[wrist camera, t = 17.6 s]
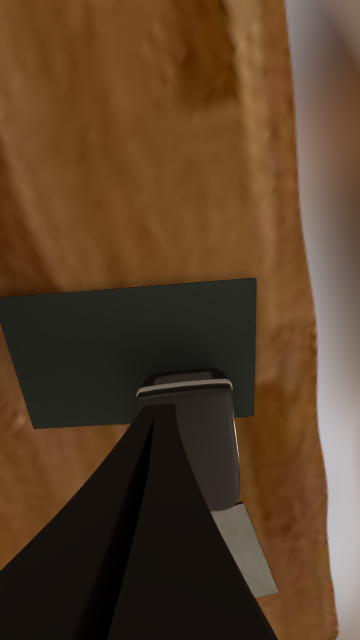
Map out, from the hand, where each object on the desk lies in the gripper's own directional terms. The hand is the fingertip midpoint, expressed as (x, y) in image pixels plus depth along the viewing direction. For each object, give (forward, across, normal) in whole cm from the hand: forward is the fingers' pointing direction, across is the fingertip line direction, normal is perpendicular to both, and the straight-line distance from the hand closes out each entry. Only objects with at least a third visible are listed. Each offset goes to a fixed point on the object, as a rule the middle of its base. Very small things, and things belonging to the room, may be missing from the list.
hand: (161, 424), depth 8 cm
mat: (+8, +3, 0) cm, 9 cm away
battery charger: (+6, -1, +1) cm, 6 cm away
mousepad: (+8, +1, +23) cm, 24 cm away
